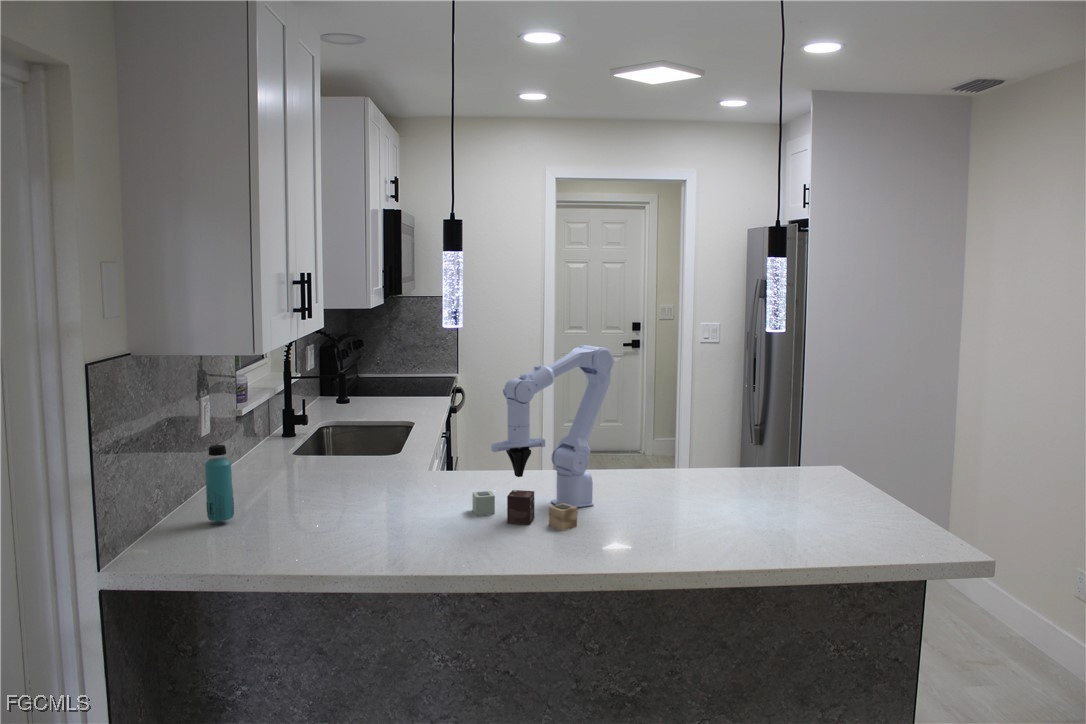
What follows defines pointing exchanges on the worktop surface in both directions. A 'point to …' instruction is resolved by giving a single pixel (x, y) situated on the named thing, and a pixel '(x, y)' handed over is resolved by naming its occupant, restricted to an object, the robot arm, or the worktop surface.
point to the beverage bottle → (219, 485)
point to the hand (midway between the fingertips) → (518, 476)
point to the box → (520, 507)
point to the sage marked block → (483, 503)
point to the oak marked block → (563, 516)
